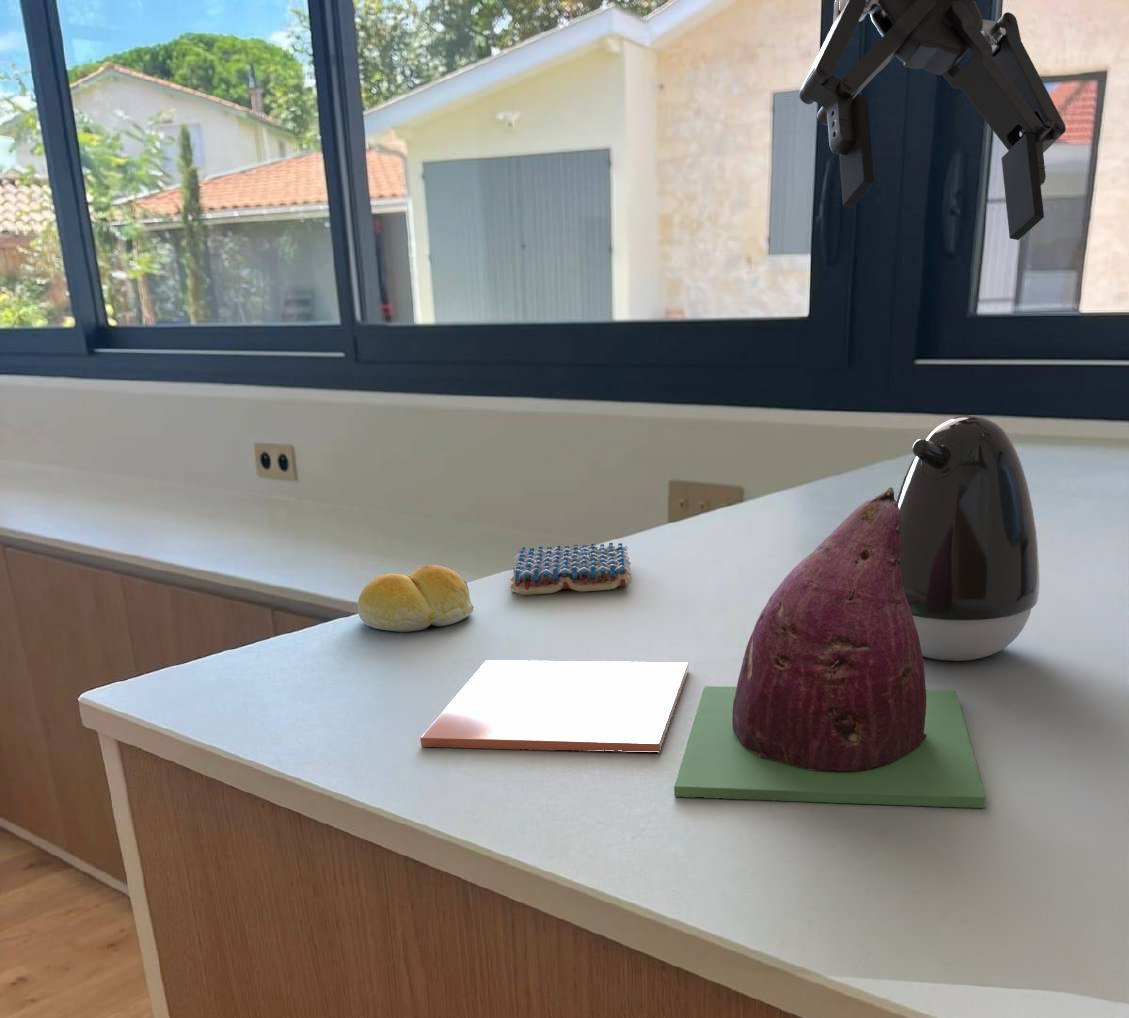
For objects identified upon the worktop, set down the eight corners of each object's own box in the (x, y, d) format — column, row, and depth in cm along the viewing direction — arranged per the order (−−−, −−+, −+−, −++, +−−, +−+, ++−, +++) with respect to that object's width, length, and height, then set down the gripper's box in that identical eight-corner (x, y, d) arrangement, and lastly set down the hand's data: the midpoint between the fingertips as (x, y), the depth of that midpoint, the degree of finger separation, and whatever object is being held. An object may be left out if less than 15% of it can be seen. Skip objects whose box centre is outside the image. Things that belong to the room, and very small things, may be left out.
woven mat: (629, 561, 105) (628, 539, 105) (633, 591, 96) (632, 567, 95) (516, 567, 106) (514, 545, 105) (508, 598, 96) (506, 574, 95)
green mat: (955, 699, 69) (956, 689, 68) (984, 808, 55) (985, 797, 55) (704, 694, 72) (704, 685, 72) (674, 797, 59) (673, 786, 58)
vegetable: (920, 763, 67) (1015, 510, 61) (889, 817, 58) (997, 526, 52) (751, 703, 70) (827, 457, 65) (697, 744, 61) (780, 463, 56)
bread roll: (352, 614, 94) (346, 566, 93) (458, 599, 97) (454, 552, 95) (369, 641, 87) (363, 589, 85) (483, 623, 89) (479, 573, 88)
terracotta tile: (688, 671, 76) (688, 662, 76) (659, 753, 64) (659, 744, 64) (486, 668, 79) (485, 660, 79) (420, 747, 67) (419, 737, 67)
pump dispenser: (839, 653, 78) (848, 421, 72) (929, 618, 84) (943, 402, 78) (975, 686, 70) (996, 431, 65) (1062, 645, 76) (1089, 409, 71)
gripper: (1029, 26, 91) (1055, 270, 87) (741, -50, 83) (757, 214, 79) (1098, -54, 84) (1131, 209, 80) (791, -144, 76) (811, 140, 72)
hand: (944, 212), depth 80 cm, fingers open, 13 cm apart
